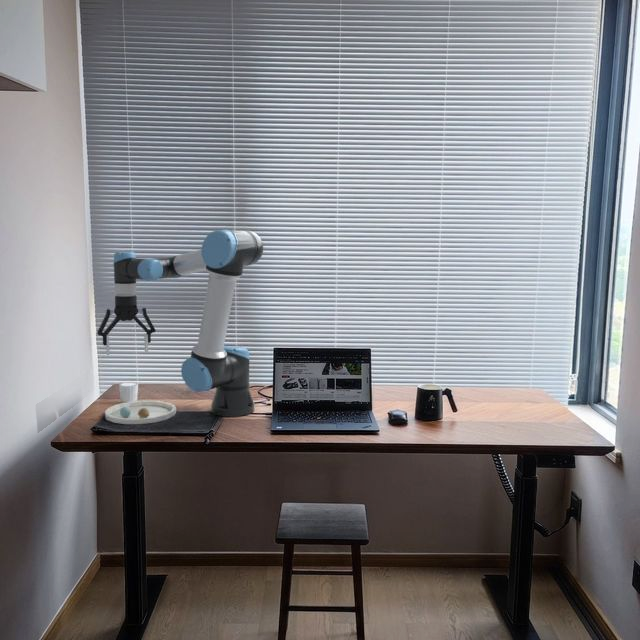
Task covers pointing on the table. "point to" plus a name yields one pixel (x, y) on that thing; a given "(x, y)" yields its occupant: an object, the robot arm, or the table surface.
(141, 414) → the bead honey
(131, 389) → the shot glass
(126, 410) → the bead teal
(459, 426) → the table surface
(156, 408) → the ring tray
